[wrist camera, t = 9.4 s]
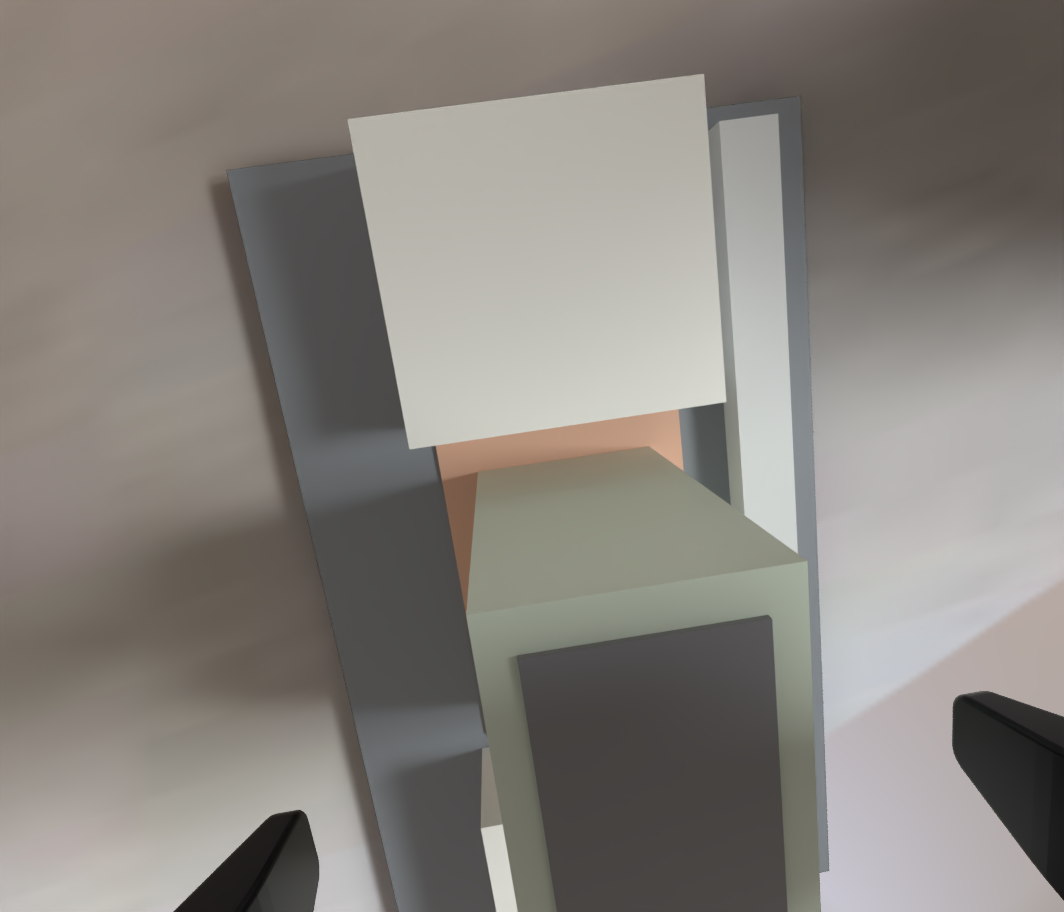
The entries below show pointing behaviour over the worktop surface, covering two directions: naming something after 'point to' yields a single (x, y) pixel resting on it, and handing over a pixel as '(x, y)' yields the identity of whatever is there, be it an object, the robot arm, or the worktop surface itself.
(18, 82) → the worktop surface
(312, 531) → the rail board
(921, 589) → the worktop surface
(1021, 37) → the worktop surface
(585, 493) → the block
